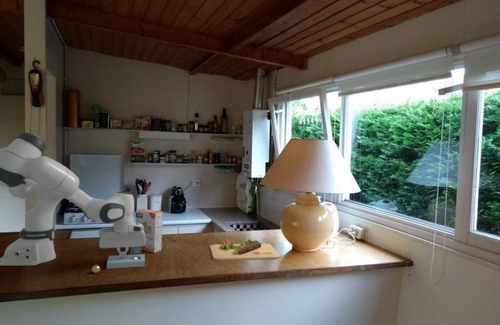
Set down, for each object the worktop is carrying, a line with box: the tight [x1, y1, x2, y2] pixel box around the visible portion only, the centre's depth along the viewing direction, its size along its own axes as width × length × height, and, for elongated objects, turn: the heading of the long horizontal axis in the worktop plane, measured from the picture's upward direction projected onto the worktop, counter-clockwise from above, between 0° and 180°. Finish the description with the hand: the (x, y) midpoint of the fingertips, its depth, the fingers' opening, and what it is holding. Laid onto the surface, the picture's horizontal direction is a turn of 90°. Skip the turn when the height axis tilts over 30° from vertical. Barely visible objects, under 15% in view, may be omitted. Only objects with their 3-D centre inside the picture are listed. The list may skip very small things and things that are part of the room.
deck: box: [106, 253, 146, 270], centre depth 158 cm, size 16×10×2 cm, turn 108°
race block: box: [129, 246, 142, 255], centre depth 167 cm, size 5×6×8 cm
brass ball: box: [91, 264, 101, 274], centre depth 145 cm, size 3×3×3 cm
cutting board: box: [209, 238, 282, 261], centre depth 183 cm, size 35×23×8 cm
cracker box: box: [134, 208, 164, 254], centre depth 179 cm, size 14×6×21 cm, turn 62°
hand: (122, 256), depth 158 cm, fingers closed
